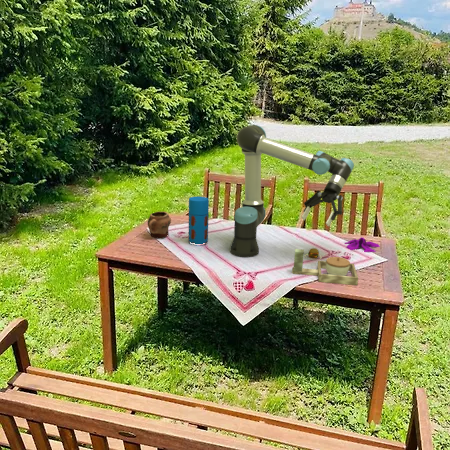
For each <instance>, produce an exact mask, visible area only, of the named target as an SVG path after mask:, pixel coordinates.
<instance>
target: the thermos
mask: <svg viewBox="0 0 450 450" xmlns="http://www.w3.org/2000/svg"><path fill="white" fill-rule="evenodd" d="M209 204H210V200H209V198H208V197H205V196H191V197H189V199H188V242H189V241H190V242H191V243H195V244H203V243H207V242H209V212H210V211H209V209H210V207H209V206H210V205H209ZM207 244H208V243H207Z"/></svg>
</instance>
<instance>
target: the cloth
mask: <svg viewBox="0 0 450 450" xmlns="http://www.w3.org/2000/svg"><path fill="white" fill-rule="evenodd" d="M344 245H346V248H347V249H348V250H349V249H350V251H355V249H356V250H359V249H363V251H364V252H363V253H376V252H377V251H376V250H374V249H373V248H380V247H381V245H379V244H378V243H375V242H373V241H367V240H366V238H364V237H362V236H361V237H360V238H359V239H356V238H355V239H352V240H349V241H347V242H344Z"/></svg>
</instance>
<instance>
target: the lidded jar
mask: <svg viewBox="0 0 450 450" xmlns="http://www.w3.org/2000/svg"><path fill="white" fill-rule="evenodd" d="M325 261H326V269H325V270H326V272H327V273H326V274H328V275H339V276H347V274H348V273H349V271H348V270H349V265H350V263H351V262H350V260H349V259H347V258H344V257H340V256H331V257H328V258H326V260H325Z"/></svg>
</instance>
